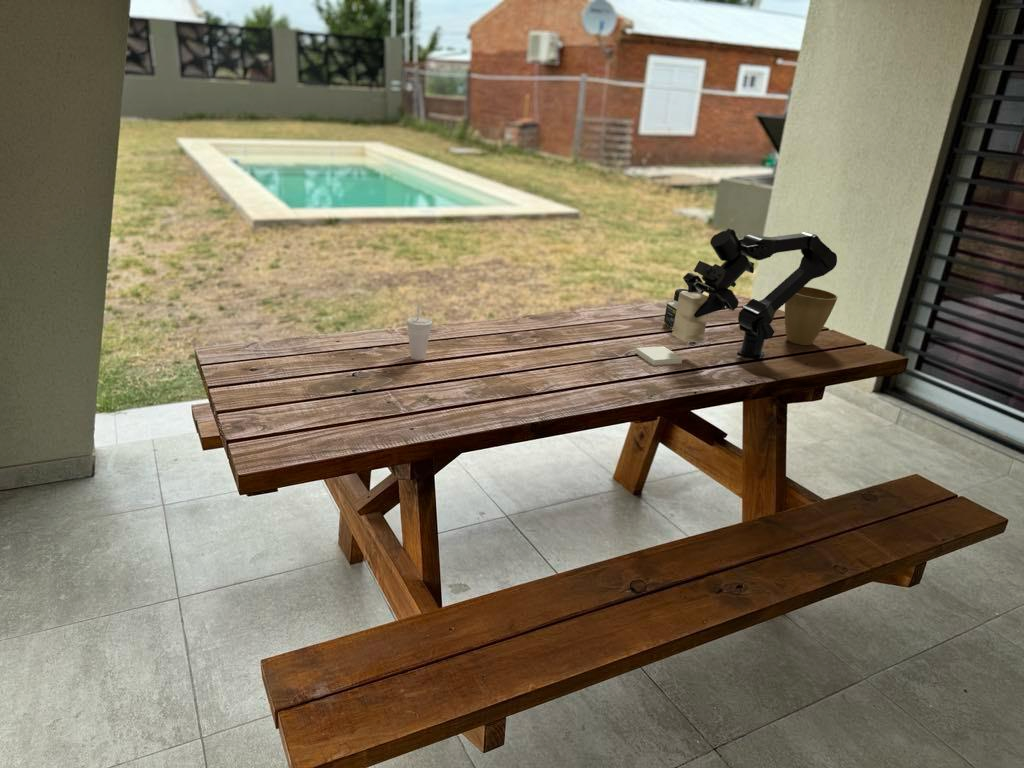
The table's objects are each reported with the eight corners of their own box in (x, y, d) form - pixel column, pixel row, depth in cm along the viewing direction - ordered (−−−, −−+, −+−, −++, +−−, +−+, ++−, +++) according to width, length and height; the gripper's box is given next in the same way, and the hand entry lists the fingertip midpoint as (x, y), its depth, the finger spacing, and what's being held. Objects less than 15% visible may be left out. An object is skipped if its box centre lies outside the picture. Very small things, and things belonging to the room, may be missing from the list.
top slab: (663, 351, 207) (663, 346, 206) (681, 363, 199) (682, 358, 199) (635, 353, 203) (636, 347, 203) (653, 365, 196) (654, 360, 195)
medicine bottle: (662, 323, 235) (669, 287, 230) (682, 323, 237) (689, 287, 233) (673, 331, 229) (680, 293, 224) (694, 330, 231) (701, 293, 226)
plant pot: (829, 352, 223) (843, 301, 217) (779, 345, 225) (791, 294, 219) (818, 337, 237) (831, 289, 231) (771, 331, 239) (782, 282, 232)
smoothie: (415, 350, 191) (418, 298, 186) (435, 357, 189) (438, 304, 183) (399, 357, 186) (401, 303, 181) (420, 363, 183) (422, 309, 178)
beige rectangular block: (689, 333, 207) (697, 291, 202) (702, 340, 202) (711, 298, 197) (671, 334, 204) (679, 292, 200) (684, 341, 199) (692, 298, 195)
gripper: (694, 243, 203) (654, 283, 203) (738, 260, 188) (695, 303, 187) (712, 271, 209) (673, 310, 209) (756, 289, 194) (714, 331, 194)
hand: (687, 312), depth 200 cm, fingers closed on beige rectangular block, 6 cm apart
